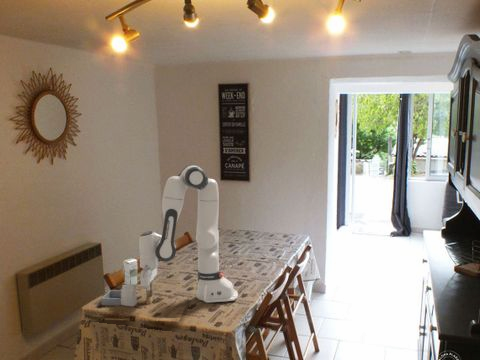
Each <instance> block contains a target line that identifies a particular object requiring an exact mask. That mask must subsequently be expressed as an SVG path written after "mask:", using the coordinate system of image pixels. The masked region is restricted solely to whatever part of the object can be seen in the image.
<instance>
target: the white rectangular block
mask: <svg viewBox="0 0 480 360" xmlns="http://www.w3.org/2000/svg"><path fill="white" fill-rule="evenodd" d="M121 290H122V291H121V297H120V298H121V305H120V306H126V307H134V306H136V305H137V304H138V301H137V297H138V296H137V291H136V287H135V285H132V286H130V285H126V284H122V286H121Z"/></svg>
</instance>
